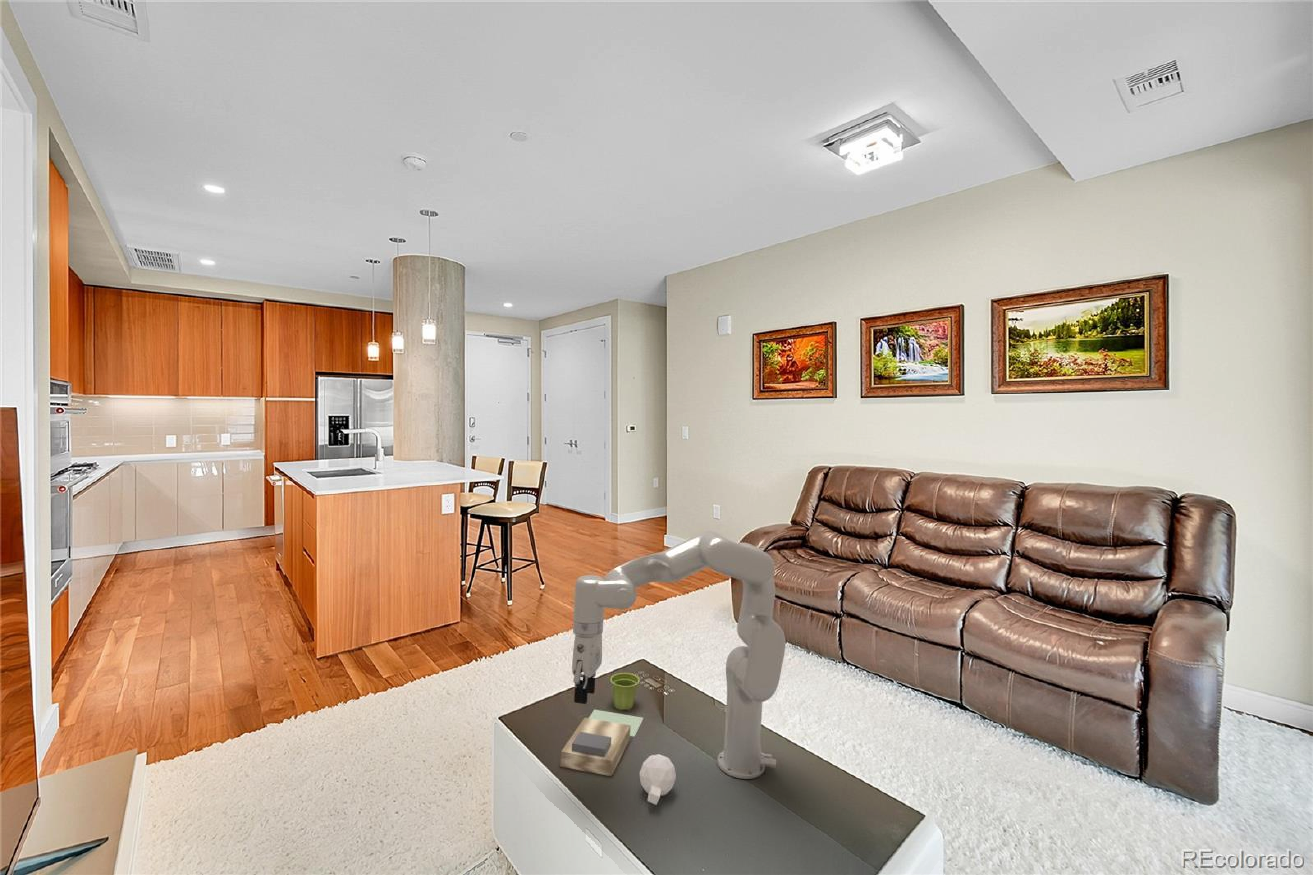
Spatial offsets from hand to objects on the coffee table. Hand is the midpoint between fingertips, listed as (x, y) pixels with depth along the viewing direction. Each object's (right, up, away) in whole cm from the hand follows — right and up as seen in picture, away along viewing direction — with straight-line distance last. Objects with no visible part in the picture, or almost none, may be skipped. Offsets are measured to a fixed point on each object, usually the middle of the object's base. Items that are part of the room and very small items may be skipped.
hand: (584, 696), depth 141 cm
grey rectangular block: (+1, -17, +8) cm, 19 cm away
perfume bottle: (+18, -23, -4) cm, 29 cm away
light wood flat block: (+2, -21, +13) cm, 25 cm away
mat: (+5, -21, +28) cm, 36 cm away
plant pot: (+8, -21, +39) cm, 45 cm away
